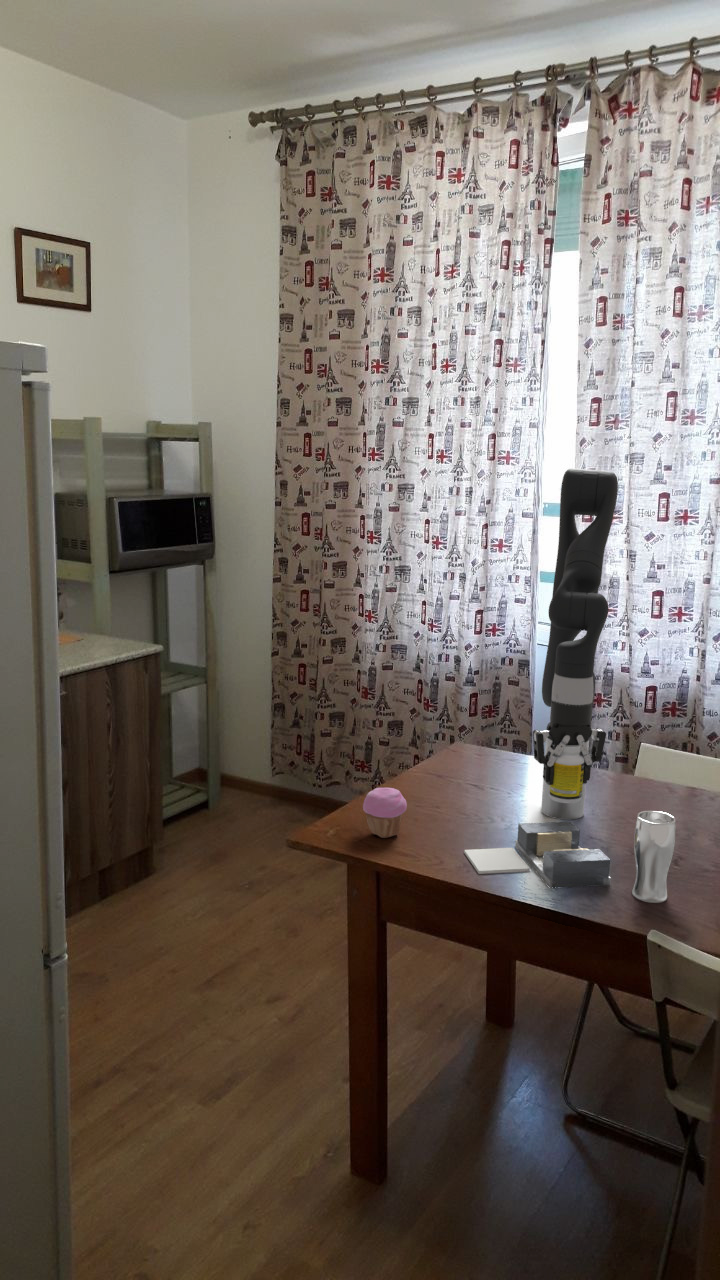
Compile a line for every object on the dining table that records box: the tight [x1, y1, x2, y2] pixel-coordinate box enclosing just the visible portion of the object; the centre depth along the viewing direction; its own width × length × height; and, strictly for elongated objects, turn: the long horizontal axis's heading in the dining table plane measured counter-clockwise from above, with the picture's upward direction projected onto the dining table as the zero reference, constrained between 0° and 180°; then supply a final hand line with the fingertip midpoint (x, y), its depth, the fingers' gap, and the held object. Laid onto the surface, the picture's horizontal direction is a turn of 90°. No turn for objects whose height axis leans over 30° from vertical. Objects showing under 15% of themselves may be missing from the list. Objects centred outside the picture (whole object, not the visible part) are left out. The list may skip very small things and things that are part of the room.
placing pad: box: [463, 847, 531, 875], centre depth 193 cm, size 10×10×1 cm
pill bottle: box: [549, 745, 584, 803], centre depth 189 cm, size 6×6×11 cm
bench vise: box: [514, 820, 612, 889], centre depth 192 cm, size 19×12×5 cm, turn 10°
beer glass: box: [632, 810, 677, 904], centre depth 179 cm, size 7×7×15 cm
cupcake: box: [362, 787, 408, 839], centre depth 204 cm, size 9×9×10 cm
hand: (565, 782), depth 189 cm, fingers closed on pill bottle, 6 cm apart
